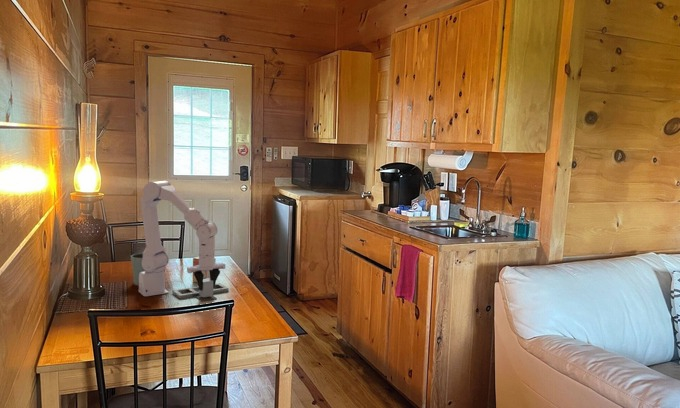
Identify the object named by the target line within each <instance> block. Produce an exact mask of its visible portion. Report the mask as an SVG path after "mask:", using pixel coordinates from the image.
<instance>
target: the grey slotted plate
mask: <svg viewBox="0 0 680 408" xmlns="http://www.w3.org/2000/svg"><path fill="white" fill-rule="evenodd" d="M229 290H230V289H229V287H228V286H226V285H224V284H222V283H218V282H217V283H215V286H214V289H213V295H215V294H222V293H228V292H229ZM171 293H172V295H173V296H175V297H176V298H177V299H178V300H184V299H190V298H196V296H200V295H199V287H198V286H192V287H185V288H179V289H178V288H177V289H172V292H171Z"/></svg>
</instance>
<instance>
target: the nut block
mask: <svg viewBox="0 0 680 408" xmlns="http://www.w3.org/2000/svg"><path fill="white" fill-rule="evenodd" d="M198 292H199V295H200V296H202V297H209V296H214V294H213V280H211V279H210V278H207V279H203V290H202V291H201V290H199V291H198Z"/></svg>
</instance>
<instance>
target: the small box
mask: <svg viewBox="0 0 680 408" xmlns="http://www.w3.org/2000/svg"><path fill="white" fill-rule="evenodd" d="M215 263H217V262H216V257H214V264H215ZM196 265H199V256H196V257H193V258H192V266H196ZM202 274H204V277H203V279H207V278H210V272H209V270H208V271H202ZM192 282H195V283H197V280H196V278H195V276H194V274H193V273H192Z"/></svg>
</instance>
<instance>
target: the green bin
mask: <svg viewBox="0 0 680 408" xmlns="http://www.w3.org/2000/svg"><path fill="white" fill-rule="evenodd" d="M142 259H143V252H138V253H134V254H132V255H130V261H131V267H132V268H131V269H132V275H133V276H132V278H133V285H135V286H137V287H139V273H140V272H144V271H145V270H144V269H143V267H142Z"/></svg>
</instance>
